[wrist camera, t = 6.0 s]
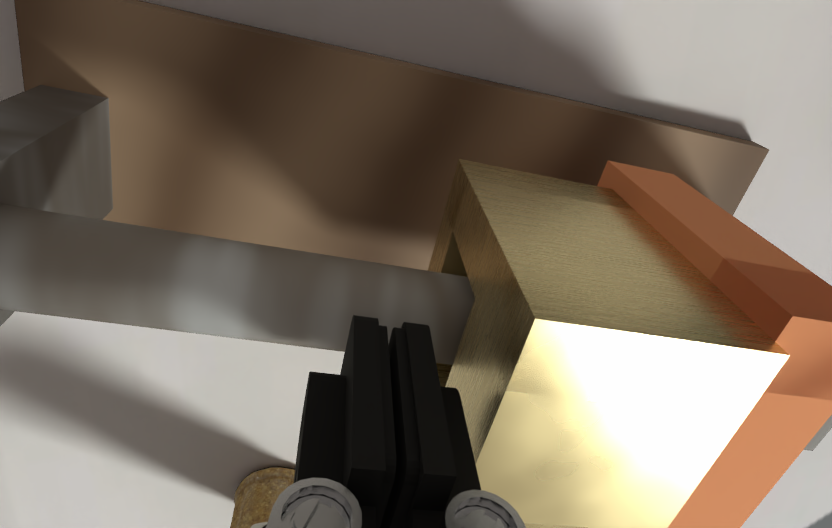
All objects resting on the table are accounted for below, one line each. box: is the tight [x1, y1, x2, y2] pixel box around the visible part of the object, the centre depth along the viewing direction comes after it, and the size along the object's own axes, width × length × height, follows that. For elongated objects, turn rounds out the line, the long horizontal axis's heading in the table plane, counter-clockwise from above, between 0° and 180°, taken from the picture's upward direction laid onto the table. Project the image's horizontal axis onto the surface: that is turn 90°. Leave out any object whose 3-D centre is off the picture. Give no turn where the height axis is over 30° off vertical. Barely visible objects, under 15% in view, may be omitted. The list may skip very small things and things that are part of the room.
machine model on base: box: [0, 0, 832, 451], centre depth 17 cm, size 26×10×9 cm, turn 77°
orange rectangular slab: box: [597, 160, 832, 528], centre depth 16 cm, size 8×2×9 cm, turn 167°
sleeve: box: [428, 159, 790, 528], centre depth 14 cm, size 7×5×8 cm
